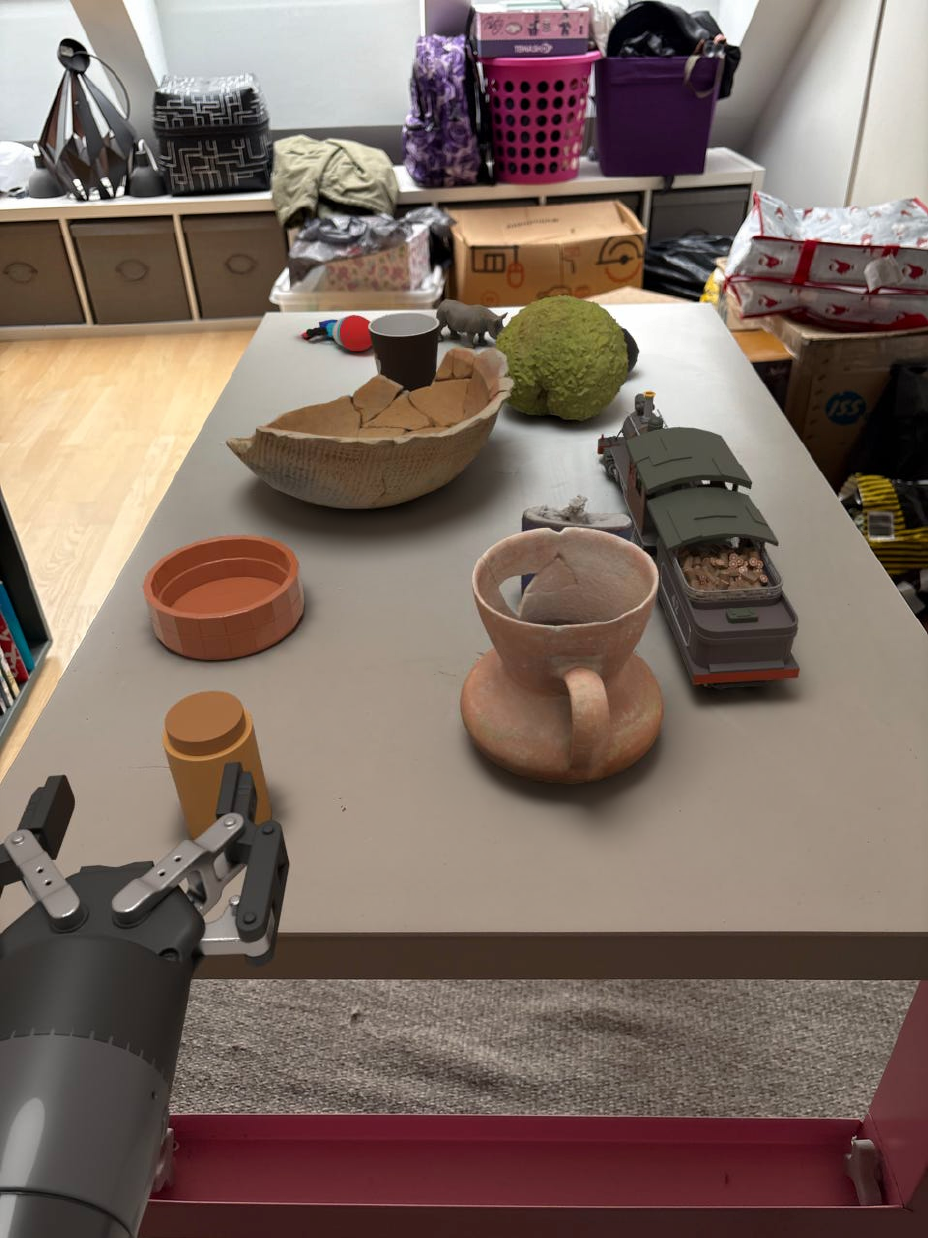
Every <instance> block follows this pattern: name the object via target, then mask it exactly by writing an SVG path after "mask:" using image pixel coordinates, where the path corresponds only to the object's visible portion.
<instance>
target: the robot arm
mask: <svg viewBox="0 0 928 1238" xmlns="http://www.w3.org/2000/svg"><path fill="white" fill-rule="evenodd" d="M257 802H258V796H257V792H256V788H255V783H254V779H253V776H252V774H251V772H250V771H245V772H243V768H242V764H241V762H229V763H225V767H224V772H223V777H222V782H221V787H220V793H219V798H218V803H217V808H216V813H215V815H216V819H217V821H216V822H215V823H214V824H213V825H212V826H211V827H209V828H208V829H207V830H206V831H205V832H204V833H203V834H202V835H200V836H199V837H198V838H197V839H196V840H194V839H193V840H192V839H189V838H187V839H184V840H182V841H181V842H180V843H179V844H178V845H177V846H175V848H174V849H172V850H171V851H170V852H169V853H167V855H165V856H164V857H163V858H162V859H161V860H160V861H158V862H157V863H156V864H155V863H154V860H143V861H134V862H131V863H127V864H122V865H120V866H109V865H101V864H94V865H93V864H92V865H83V866H81V867H80V869H79V872H78V871H77V872H76V873H73V874H71V875H69V876H67V877H64V875H63V874H62V873H61V871H60V870H59V868H58V866H57V865H56V864H55V862H54V861H56V860H57V858H58V856H59V854H60V850H61V848H62V844H63V842H64V839H65V836H66V833H67V830H68V828H69V825H70V822H71V820H72V817H73V814H74V811H75V807H76V798H75V795H74V792H73V789H72V786H71V784H70V781H69V779H68V776H67V775H66V774H58V775H57V774H56V775H49V776H47V778H46V781H45V783H44V786H38V787H37V788H36V789H35V790H34V791H33V792H32V794H31V795H30V797H29V799H28V802H27V804H26V806H25V810H24V812H23V814H22V816H21V819H20V820H19V824H18V826H17V828H16V831H13V832H11V833H10V834H9V835H7V837H6V838H5V839H4V841H3V843H0V899H1V898H2V895H3V893H4V892H3V891H4V888H5V887H7V886H10V885H12V884H16V883H19V882H21V884H22V886H23V887H24V889H25V890H26V892H27V894H28V895H29V897H30V899H31V900H32V902H33V903H34V904H33V905H32V906H30V907H29V908H28V909H27V910H26V911H24V912H23V913H22V914H21V915H19V917H17V918H16V919H15V920H13V922H11V923H10V924H9V925H8V926H7V927H6V928H5V929H4V930H3V931H1V933H0V1238H138V1234H139V1230H140V1227H141V1225H142V1224H141V1223H142V1220H143V1217H144V1215H145V1211H146V1209H147V1205H148V1202H149V1199H150V1196H151V1192H152V1189H153V1186H154V1182H155V1178H156V1175H157V1169H158V1166H159V1165H158V1164H159V1161H160V1155H161V1151H162V1146H163V1144H164V1142H165V1138H167V1134H168V1130H169V1124H170V1115H171V1114H170V1113H171V1112H170V1101H171V1097H172V1090H173V1084H174V1080H175V1074H176V1070H177V1069H176V1068H177V1062H178V1057H179V1053H180V1052H179V1051H180V1047H181V1041H182V1040H181V1039H182V1035H183V1030H184V1025H185V1020H186V1015H187V1008H188V1003H189V999H190V998H189V996H190V991H191V985H192V981H193V980H192V979H193V977H194V975H195V973H196V971H197V970H198V968H199V967H200V965H201V964H202V963H203V962H204V960H206V957H207V956H217V955H218V956H219V955H243V957H244V960H245V963H246V964H247V965H248V966H249V967H251V968H257V969H258V968H262V967H265V966H267V965H268V964H269V963H271V961H272V960H273V958H274V956H275V949H276V944H277V939H278V933H279V927H280V922H281V916H282V911H283V905H284V898H285V894H286V888H287V883H288V878H289V871H290V865H291V864H290V859H289V854H288V849H287V844H286V840H285V836H284V832H283V827H282V824H281V823H280V822H279V821H277V820H272V819H270V820H269V821H265V822H263V823H261V824H259V825H257V824H254V823H255V816H256V809H257ZM245 868H246V870H245V874H244V878H243V883H242V887H241V891H240V895H233V896H231V897H230V898H229V899H228V904H227V905H226V906H225V908H224V909H223V912H222V914H221V915H220V917H218V918H216V919H214V920H213V921H210V922H206V921H205V918H204V917H205V916H206V915H207V914H208V913H209V912H210V911H211V910H212V909H213V908H214V907H215V906H216V905H217V904H218V903H219V902H220V901H221V898H222V894H223V892H224V889H225V888H226V886H228V885H229V883H231V881H233V880H234V879H235V878H236V877H237V876H238V875H239V874H240V873H241V872H242V871H243V870H244V869H245ZM185 879H186V880H187V884H188V887H187V890H186V892H185V891H184V889H183V888H182V887H181V886H180V883H181V882H182V881H184V880H185Z"/></svg>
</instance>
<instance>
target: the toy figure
mask: <svg viewBox="0 0 928 1238" xmlns="http://www.w3.org/2000/svg"><path fill="white" fill-rule="evenodd" d="M370 322H371V321H370V320H369V319H367V318H366V317H364V316H361V315H357V314H350V315H348V316H344V317H341V318H339V319H327V320H323V321H318V327H314V328H308V329H306V331H305V332H303V333H302V334H300V337H302V338H304V339H305V338H306V339H307V338H315V337H320V336H326V337H329V338H333V339H334V341H335V342H336V343H337V344H338V345H339V346H342V347H343V348H345V349H346V350H348V351H351V352H362V351H366V350H368V349H370V348H371V347H372V343H371V338H370V333H369V328H368V325H369V323H370Z"/></svg>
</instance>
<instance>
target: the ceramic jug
mask: <svg viewBox="0 0 928 1238" xmlns="http://www.w3.org/2000/svg"><path fill="white" fill-rule="evenodd" d="M527 574H535V576H534V577H533V579H532V581H531V582H530V584H529V585H528V586H527V587H526V589H525V591H524V594H523V597H522V596H521V600H520V602H519V604H518V606H517V609H516V612H514V610H512V609H511V608H510V607H509V605H508V603H507V602H506V599H505V597H504V596H503V594H502V592H501V591H500V588H499V587H500V586H502V584H503V583H504V582H505V581H506V580H507V579H510V578H513V577H518V576H519V577H521V575H527ZM658 586H659V574H658V570H657V567H656V565H655V563H654V562H653V560H652V558H651V557H650V556H649V555H648V554H647V553H646V552H644V551H643V550H642V549H641V548H640V547H639V545H637V544H635V543H633V542H632V541H631V542H629V541H627V540H625V539H623V538H621V537H618V536H616V535H613V534H610V533H607V532H603V531H598V530H595V529H588V528H578V527H566V528H564V529H563V530H562V531H561V532H555V531H553V530H551V529H550V528H540V529H534V530H529V531H524V532H522V531H521V532H517V533H515V534H512V535H509V536H508V537H505V538H503V539H501V540H499V541H497V542H495V544H493V545H492V546H490V547H489V548H488V549H487V550H486V551H485V552H484V553H483V554H482V555H481V557H479V558H478V559H477V562H476V563H475V565H474V568H473V571H472V575H471V587H472V593H473V598H474V602H475V605H476V608H477V612H478V614H479V617H480V620H481V623H482V625H483V627H484V629H485V631H486V633H487V636H488V637H489V639H490V642H491V644H492V646H493V648H491V649H490V650H489V651H487V652H486V653H485V654H483V655H482V656H481V657H480V658H479V659H478V660H477V661H476V662H475V664H474V665H473V666H472V667H471V669H470V671H469V673H468V675H467V676H466V678H465V680H464V683H463V685H462V688H461V693H460V700H459V702H460V703H459V704H460V705H459V706H460V715H461V719H462V723H463V725H464V727H465V731H466V732H467V734H468V736H469V737H470V739H471V741H472V743H473V744H474V745H475V746H476V748H478V750H479V751H480V752H481V753H482V754H483V755H484V756H485V757H486V758H487V759H489V760H490V761H491V762H493V763H494V764H496V766H499V767H500V768H502V769H504V770H506V771H508V772H510V773H512V774H515V775H518V776H520V777H522V778H527V779H529V780H530V779H531V780H535V781H539V782H543V783H552V784H565V785H570V784H571V785H572V784H573V785H574V784H584V783H590V782H591V783H592V782H595V781H598V780H602V779H605V778H607V777H608V778H609V777H610V776H613V775H616V774H619V773H621V772H622V771H624V770H626V769H627V768H629V767H631V766H632V765H634V764H635V763H636V762H638V761H639V760H640V759H641V758H642V757H643V756H644V755H645V754H646V753H647V752H648V751H649V750H650V748H652V746H653V745H654V742H655V741H656V739H657V737H658V735H659V732H660V730H661V727H662V725H663V720H664V713H665V712H664V710H665V708H664V707H665V704H664V703H665V702H664V697H663V693H662V689H661V687H660V684H659V682H658V680H657V678H656V676H655V673H654V672H653V671H652V669H651V668H650V666H649V665H648V664H647V663H646V662H645V661H644V660H643V659H642V658H641V657H640V656H639V655H638V654H637V653H635V652H634V651H635V649H636V647H637V646H638V644H639V642H640V640H641V638H642V637H643V634H644V632H645V630H646V628H647V625H648V623H649V620H650V617H651V614H652V612H653V610H654V609H653V608H654V605H655V602H656V599H657V595H658V592H657V591H658Z"/></svg>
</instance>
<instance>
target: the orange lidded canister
mask: <svg viewBox="0 0 928 1238" xmlns="http://www.w3.org/2000/svg"><path fill="white" fill-rule="evenodd" d="M161 737H162V738H161V739H162V740H161V742H162V744H163V748H164V752H165V756H166V759H167V763H168V766H169V769H170V773H171V777H172V779H173V783H174V787H175V790H176V793H177V797H178V800H179V803H180V807H181V811H182V812H183V817H184V820H185V823H186V828H187V830H188V833H189V835H190V837H191V838H192V840H193V841H194V840H196V839H197V838H198V837H199V836H200V835H202V834H203V833H204V832H205V831H206V830H207V829H208V828H209V827H211V826H212V825H213V824H214V823H215V822H216V821H217V819H216V815H215V813H216V808H217V803H218V798H219V793H220V787H221V782H222V777H223V772H224V767H225V763H229V762H241V764H242V768H243V772H245V771H250V772H251V774H252V776H253V779H254V783H255V788H256V792H257V796H258V802H257V809H256V816H255V823H254V824H257V825H259V824H261V823H263V822H265V821H270V820H271V817H272V804H271V800H270V795H269V790H268V786H267V781H266V776H265V773H264V768H263V764H262V759H261V754H260V750H259V743H258V740H257V735H256V731H255V726H254V722H253V718H252V715H251V714H250V712H249V711H248V710H247V709H246V708H245V707H243V703H242V702H241V700H240V699H239V698H238V697H236V696H235V695H234V694H232V693H229V692H225V691H220V690H206V691H205V690H204V691H200V692H196V693H193V694H190V695H188V696H186V697H183V698H182V699H180V700H179V701H177V702H176V703H174V705H173V706H172V707H170V708H169V710H168V711H167V713H166V716H165V718H164V729H163V732H162V736H161Z"/></svg>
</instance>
